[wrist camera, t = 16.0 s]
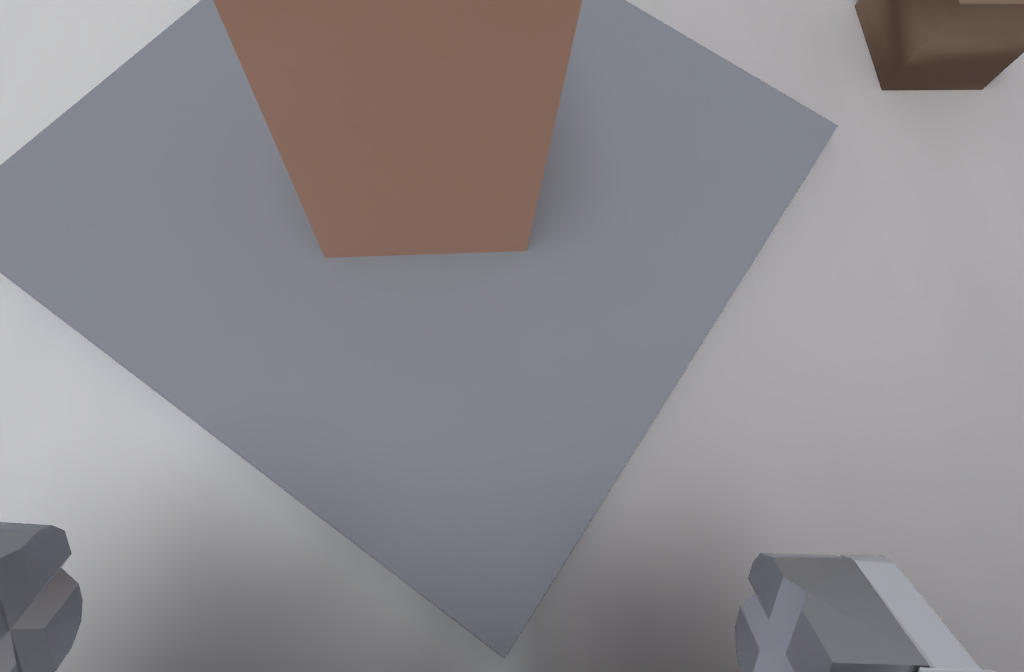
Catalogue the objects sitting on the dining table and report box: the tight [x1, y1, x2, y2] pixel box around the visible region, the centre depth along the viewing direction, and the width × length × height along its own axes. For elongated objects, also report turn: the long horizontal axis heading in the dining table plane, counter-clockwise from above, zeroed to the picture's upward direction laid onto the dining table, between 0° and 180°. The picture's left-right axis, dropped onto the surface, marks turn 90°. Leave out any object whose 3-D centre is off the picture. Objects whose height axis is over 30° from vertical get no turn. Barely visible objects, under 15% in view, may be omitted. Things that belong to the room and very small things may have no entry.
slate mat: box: [0, 0, 838, 658], centre depth 21 cm, size 20×20×1 cm
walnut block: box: [855, 0, 1024, 90], centre depth 23 cm, size 4×4×4 cm
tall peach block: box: [213, 0, 582, 258], centre depth 16 cm, size 6×6×10 cm
